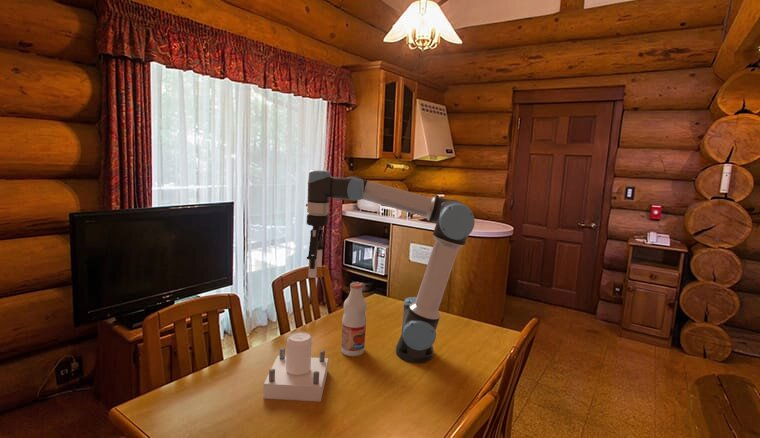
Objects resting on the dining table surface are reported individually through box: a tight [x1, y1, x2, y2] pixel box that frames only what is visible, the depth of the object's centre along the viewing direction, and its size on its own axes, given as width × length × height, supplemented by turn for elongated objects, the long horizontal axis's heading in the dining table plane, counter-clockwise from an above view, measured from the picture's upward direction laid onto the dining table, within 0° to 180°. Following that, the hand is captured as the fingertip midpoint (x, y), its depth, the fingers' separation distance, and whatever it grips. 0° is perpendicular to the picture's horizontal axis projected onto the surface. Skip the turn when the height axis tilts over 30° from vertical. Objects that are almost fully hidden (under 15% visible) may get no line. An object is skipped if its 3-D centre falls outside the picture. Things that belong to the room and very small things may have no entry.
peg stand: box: [263, 347, 329, 402], centre depth 134 cm, size 18×18×8 cm
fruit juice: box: [340, 281, 368, 357], centre depth 157 cm, size 9×9×28 cm
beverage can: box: [285, 331, 313, 375], centre depth 133 cm, size 8×8×12 cm
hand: (315, 271), depth 145 cm, fingers open, 13 cm apart
